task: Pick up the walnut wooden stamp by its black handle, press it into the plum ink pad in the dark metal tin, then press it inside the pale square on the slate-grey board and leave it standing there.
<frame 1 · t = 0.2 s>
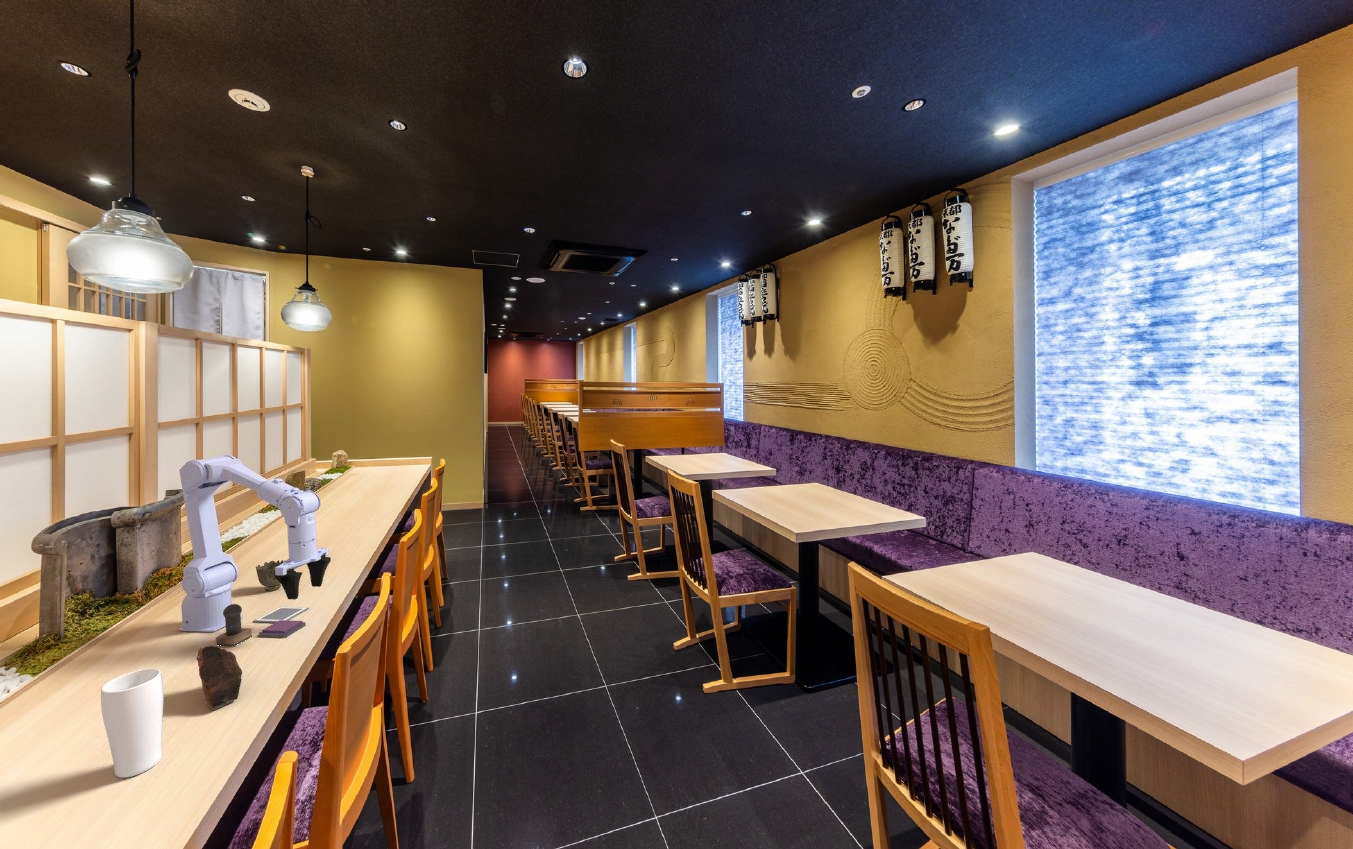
hand: (305, 592, 126), 10 cm above the counter, tool pointing down, fingers open, 7 cm apart
cup: (273, 590, 151), on the counter
ink pad: (282, 631, 126), on the counter
wooden stamp: (234, 641, 121), on the counter
decorative rock: (219, 697, 100), on the counter
stamping board: (281, 615, 134), on the counter
white tumbler: (139, 768, 81), on the counter
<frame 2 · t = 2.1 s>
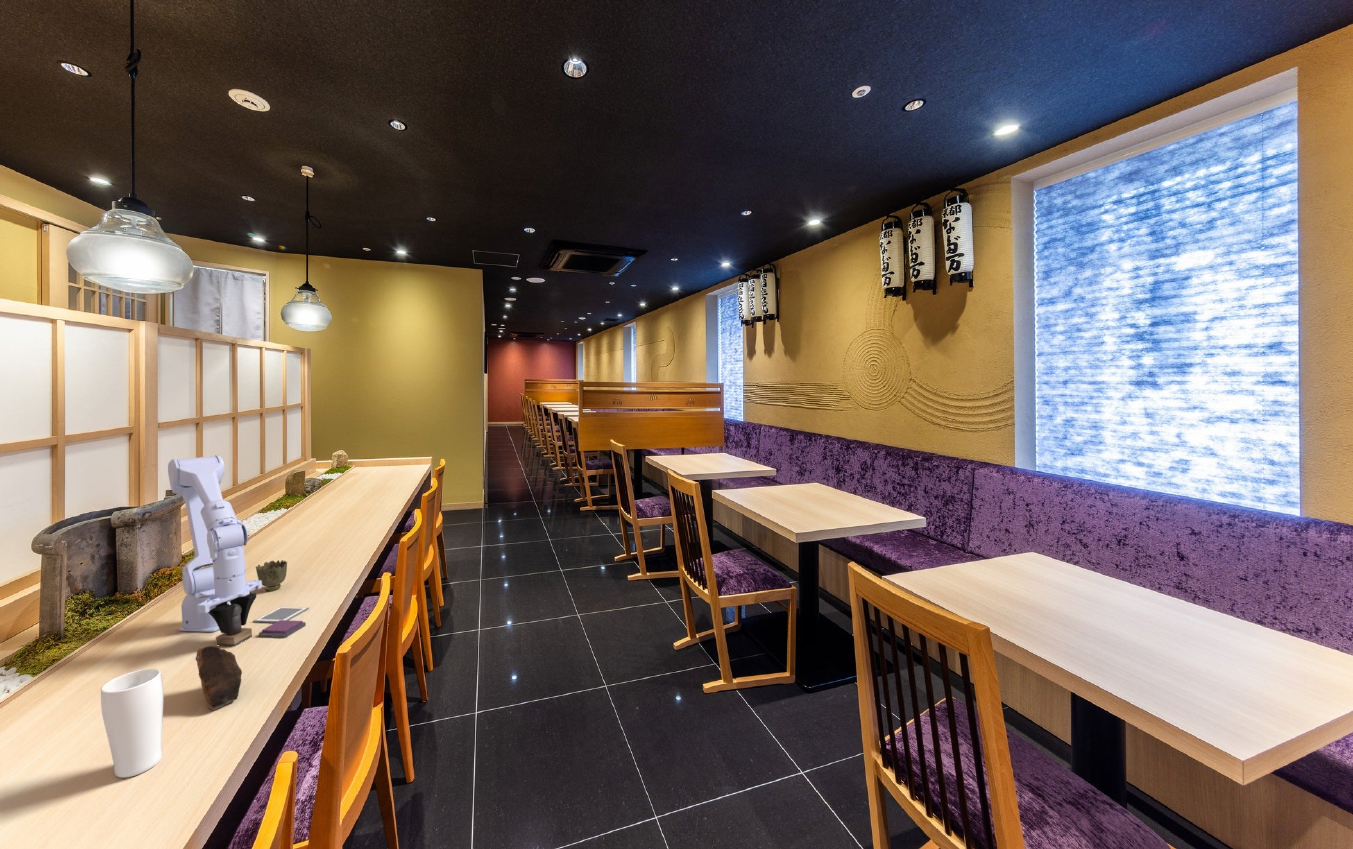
hand: (233, 628, 120), 3 cm above the counter, tool pointing down, fingers closed on wooden stamp, 3 cm apart
wooden stamp: (234, 641, 121), on the counter, touching gripper
everything else where it was.
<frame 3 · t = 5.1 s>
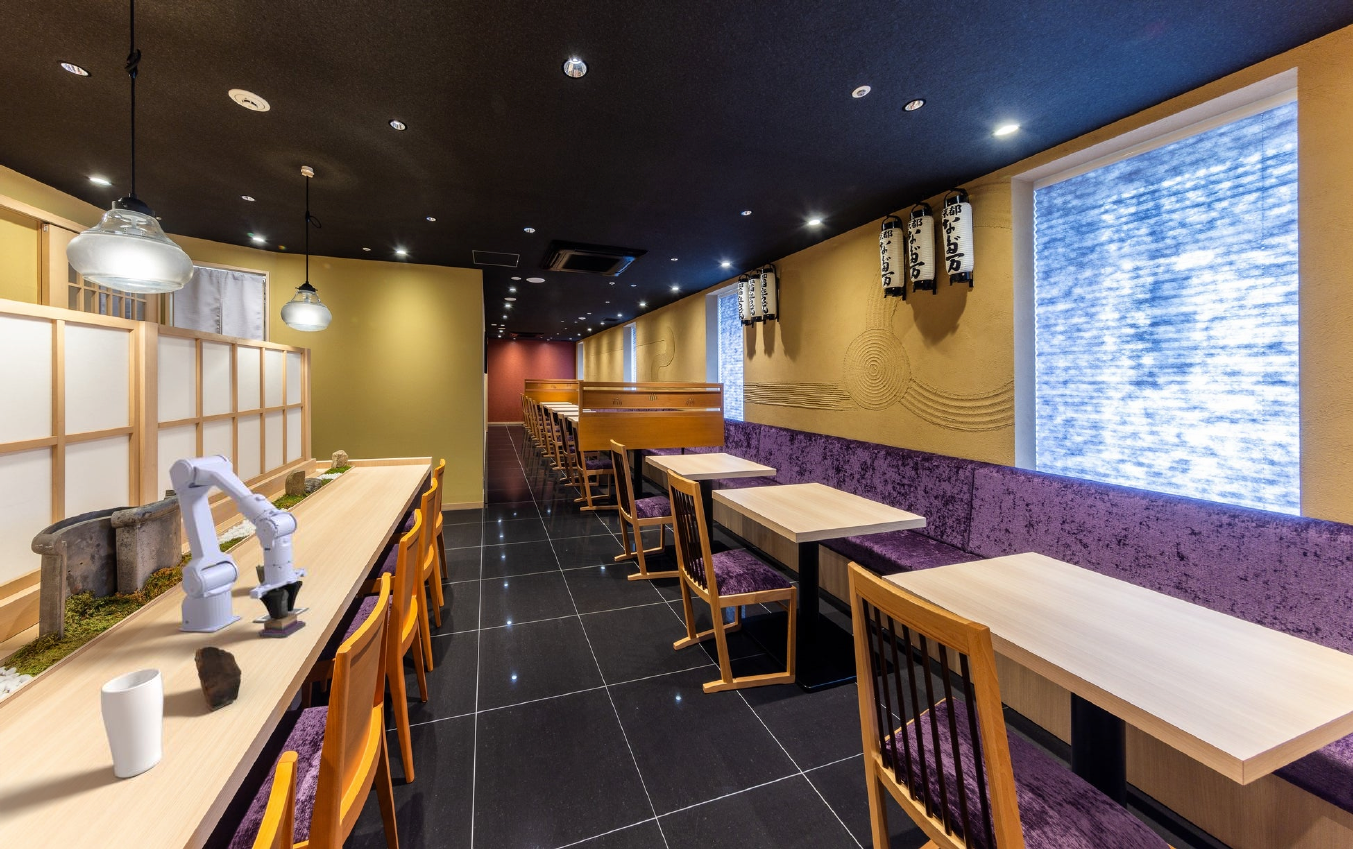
hand: (281, 614, 125), 4 cm above the counter, tool pointing down, fingers closed on wooden stamp, 3 cm apart
wooden stamp: (280, 625, 125), point 2 cm above the counter, touching gripper, ink pad
everything else where it was.
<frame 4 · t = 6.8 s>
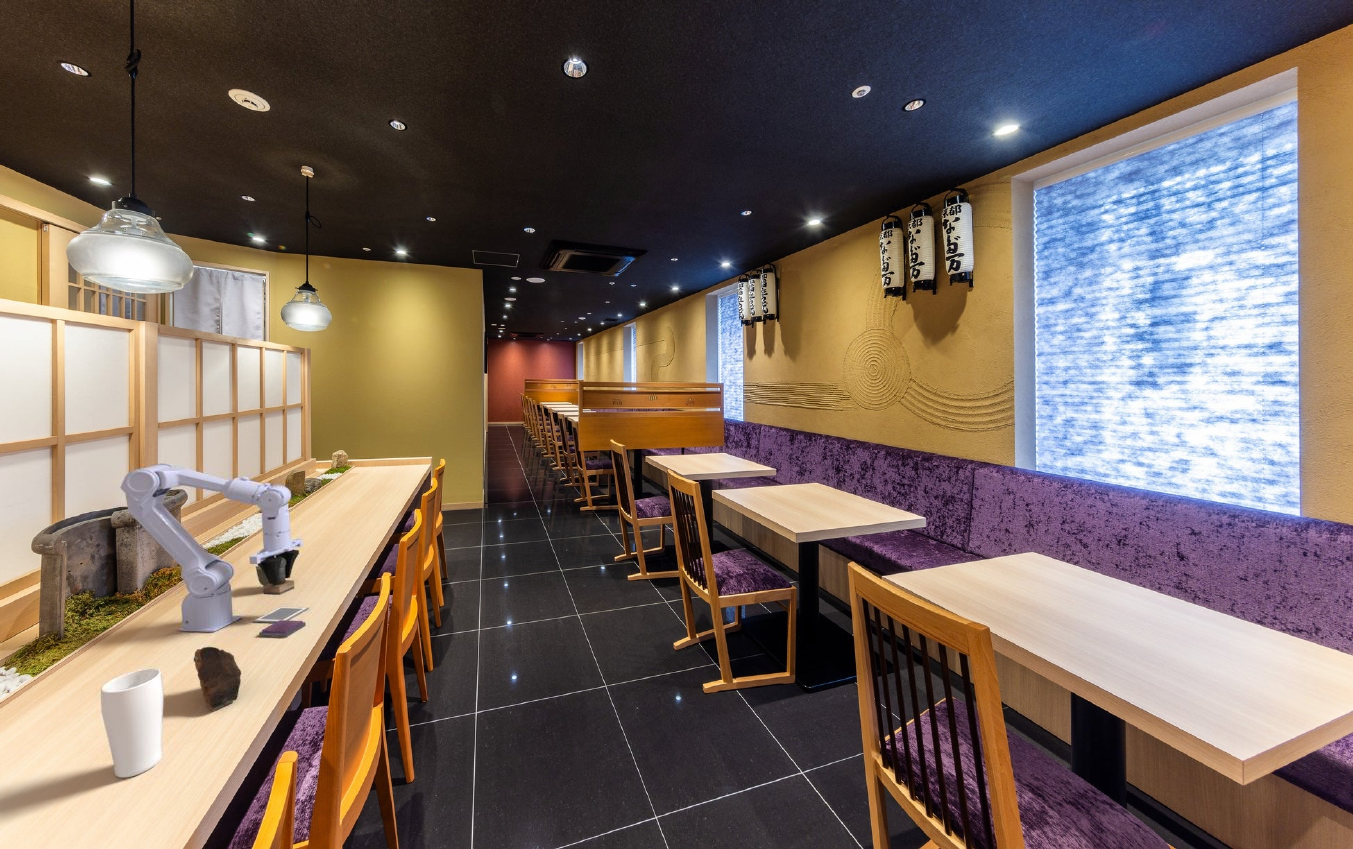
hand: (279, 580, 133), 10 cm above the counter, tool pointing down, fingers closed on wooden stamp, 3 cm apart
wooden stamp: (279, 591, 133), point 7 cm above the counter, touching gripper
everything else where it was.
when the fingers open (3 cm above the counter, at t = 8.0 s): wooden stamp stays where it is, resting on stamping board.
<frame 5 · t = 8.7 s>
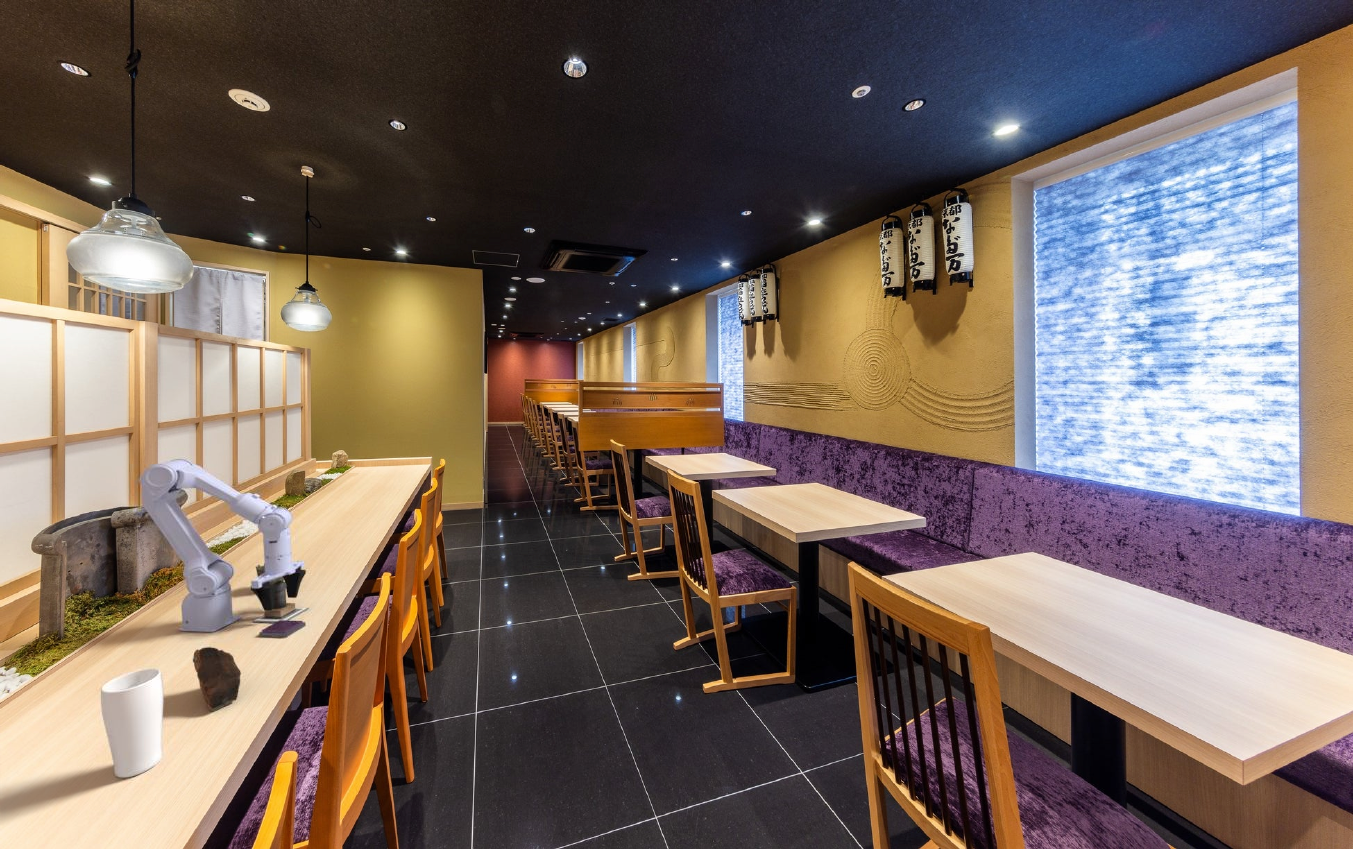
hand: (280, 603, 134), 3 cm above the counter, tool pointing down, fingers open, 7 cm apart
wooden stamp: (280, 614, 134), resting on stamping board
everything else where it was.
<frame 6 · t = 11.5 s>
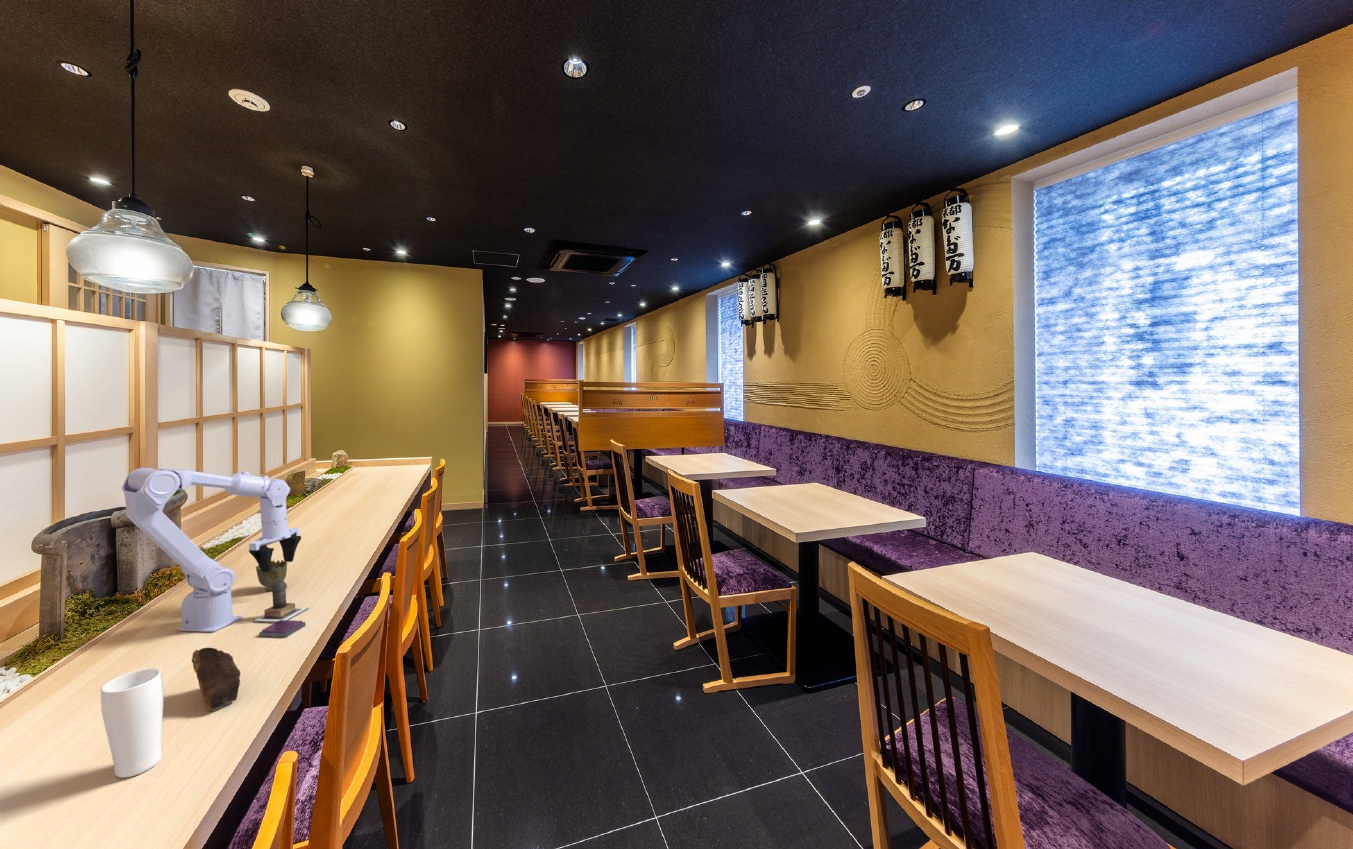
hand: (277, 566, 142), 10 cm above the counter, tool pointing down, fingers open, 7 cm apart
nothing on the counter moved.
at the end: wooden stamp 0.3 cm off-centre on the stamping board, point 0.4 cm above the stamping board's base; wooden stamp tilted 0°; the gripper is holding nothing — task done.
